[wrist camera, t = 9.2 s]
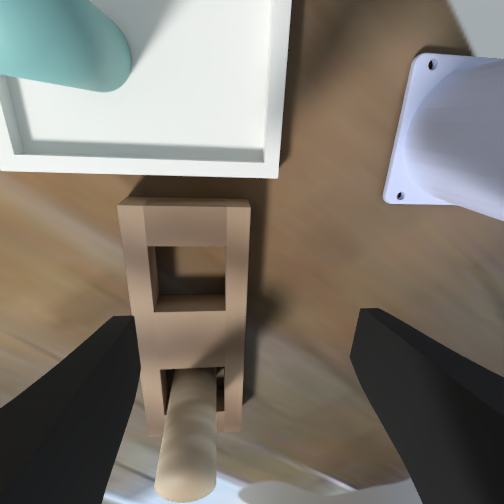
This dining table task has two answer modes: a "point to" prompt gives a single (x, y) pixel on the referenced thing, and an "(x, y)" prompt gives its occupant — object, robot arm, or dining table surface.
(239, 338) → the rack
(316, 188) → the dining table surface
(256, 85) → the tray
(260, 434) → the dining table surface
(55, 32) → the teal dowel
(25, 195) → the dining table surface
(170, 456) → the birch dowel
